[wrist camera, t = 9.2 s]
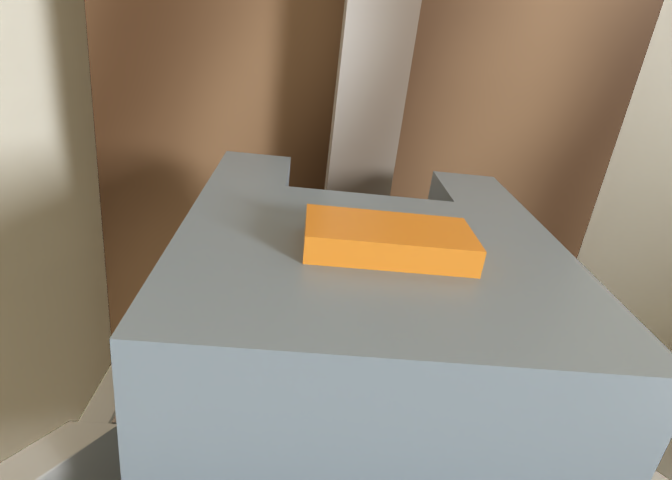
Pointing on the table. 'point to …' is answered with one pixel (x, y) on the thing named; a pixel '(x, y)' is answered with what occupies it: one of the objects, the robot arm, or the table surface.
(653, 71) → the table surface
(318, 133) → the rail board
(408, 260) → the block
